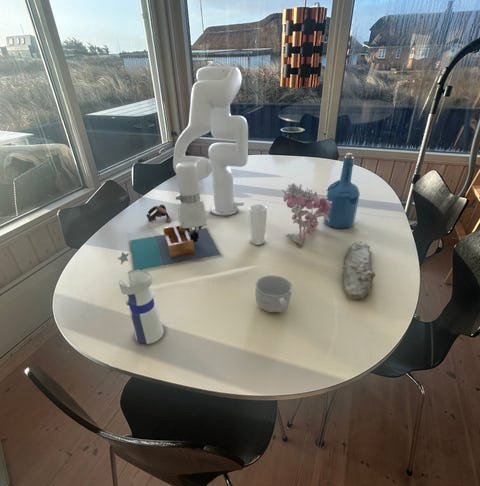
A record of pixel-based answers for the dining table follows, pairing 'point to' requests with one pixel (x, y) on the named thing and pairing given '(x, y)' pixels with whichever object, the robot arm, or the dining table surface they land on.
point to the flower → (298, 197)
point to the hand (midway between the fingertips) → (194, 240)
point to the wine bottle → (343, 197)
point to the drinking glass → (257, 223)
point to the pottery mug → (158, 213)
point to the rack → (178, 241)
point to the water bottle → (142, 305)
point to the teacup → (273, 293)
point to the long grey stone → (358, 271)
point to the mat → (156, 247)
